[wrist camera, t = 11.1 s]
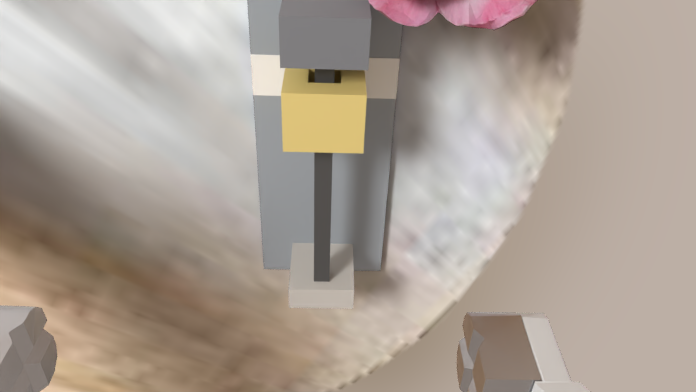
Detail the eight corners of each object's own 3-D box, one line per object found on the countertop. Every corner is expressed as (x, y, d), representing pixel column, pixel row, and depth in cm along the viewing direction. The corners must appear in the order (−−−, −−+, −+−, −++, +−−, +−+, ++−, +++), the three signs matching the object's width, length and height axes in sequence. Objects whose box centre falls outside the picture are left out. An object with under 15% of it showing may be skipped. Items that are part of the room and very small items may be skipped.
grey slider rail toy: (264, 264, 53) (255, 325, 47) (246, -33, 38) (231, 5, 32) (379, 266, 53) (385, 327, 48) (406, -28, 38) (418, 11, 33)
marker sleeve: (287, 112, 42) (282, 151, 38) (286, 58, 40) (280, 93, 35) (360, 114, 42) (363, 153, 38) (363, 60, 40) (366, 95, 36)
